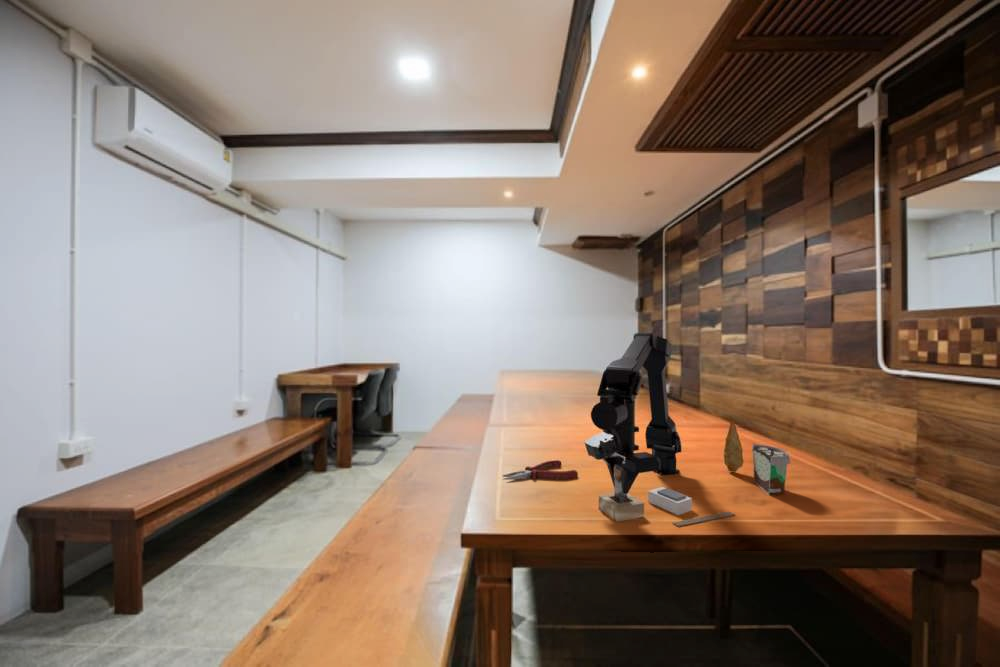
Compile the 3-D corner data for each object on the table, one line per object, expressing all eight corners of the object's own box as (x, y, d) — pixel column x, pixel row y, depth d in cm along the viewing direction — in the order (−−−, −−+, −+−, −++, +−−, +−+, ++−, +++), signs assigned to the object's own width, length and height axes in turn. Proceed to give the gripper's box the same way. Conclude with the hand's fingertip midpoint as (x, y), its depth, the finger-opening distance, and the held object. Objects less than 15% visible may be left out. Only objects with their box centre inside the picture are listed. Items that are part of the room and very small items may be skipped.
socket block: (598, 508, 95) (598, 495, 95) (624, 504, 97) (624, 491, 97) (617, 521, 88) (617, 507, 88) (644, 516, 91) (644, 503, 91)
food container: (799, 499, 100) (800, 458, 100) (771, 497, 101) (772, 457, 101) (776, 481, 112) (777, 444, 112) (751, 479, 114) (752, 443, 113)
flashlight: (622, 495, 95) (622, 461, 95) (631, 501, 92) (631, 465, 92) (610, 497, 94) (610, 462, 94) (619, 503, 91) (619, 467, 91)
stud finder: (648, 503, 98) (648, 488, 98) (661, 499, 101) (661, 484, 101) (678, 516, 92) (678, 500, 92) (691, 511, 94) (691, 496, 94)
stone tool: (738, 470, 121) (738, 419, 121) (744, 473, 119) (744, 421, 118) (722, 471, 120) (722, 419, 120) (727, 474, 118) (728, 421, 118)
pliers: (497, 474, 118) (497, 465, 118) (559, 467, 125) (559, 458, 125) (512, 489, 107) (512, 479, 107) (579, 480, 114) (579, 470, 114)
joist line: (672, 523, 87) (672, 522, 87) (729, 512, 93) (729, 511, 93) (678, 526, 86) (678, 525, 86) (734, 515, 92) (734, 514, 92)
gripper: (568, 415, 99) (568, 480, 99) (616, 434, 81) (616, 513, 81) (608, 412, 102) (608, 475, 103) (662, 429, 85) (661, 505, 85)
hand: (621, 490), depth 93 cm, fingers closed on flashlight, 3 cm apart
